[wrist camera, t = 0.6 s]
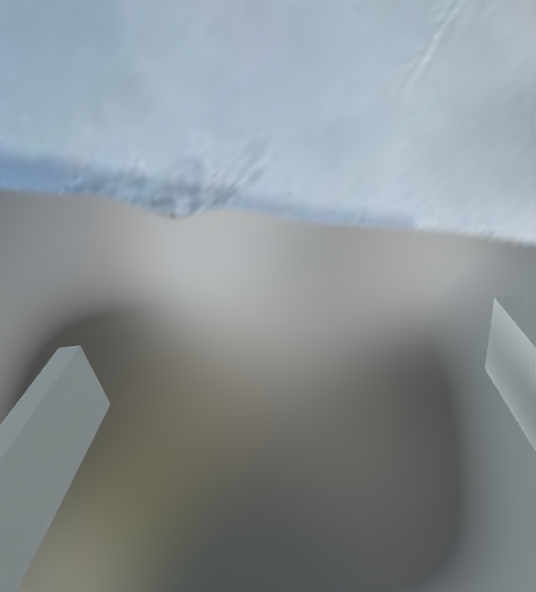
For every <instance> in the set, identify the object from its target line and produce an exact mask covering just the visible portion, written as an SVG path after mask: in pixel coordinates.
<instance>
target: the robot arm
mask: <svg viewBox="0 0 536 592" xmlns="http://www.w3.org/2000/svg"><path fill="white" fill-rule="evenodd" d="M485 369H486V371H487V373H488V374H489V376H490V378H491V379H492V381H493V382H494V384H495V386H496V387H497V389H498V391H499V392H500V394H501V396H502V397H503V399H504V400H505V402H506V404H507V405H508V407H509V409H510V410H511V412H512V414H513V415H514V417H515V418H516V420H517V422H518V423H519V425H520V427H521V428H522V430H523V432H524V433H525V435H526V436H527V438H528V440H529V441H530V443H531V445H532V446H533V448H534V450H535V451H536V309H535V308H534V306H533V305H532V304H531V303H530V302H529V301H528V300H527V299H526V298H525V297H524V296H523V295H514V296H505V297H496V298H494V306H493V313H492V320H491V327H490V335H489V342H488V350H487V357H486V364H485ZM109 405H110V403H109V401H108V399H107V397H106V395H105V393H104V391H103V389H102V387H101V385H100V384H99V382H98V379H97V378H96V376H95V374H94V372H93V370H92V368H91V366H90V364H89V362H88V360H87V358H86V356H85V354H84V352H83V350H82V349H81V347H80V346H73V347H64V348H59V349H58V350H57V351H56V353H55V354H54V355H53V356H52V358H51V359H50V360H49V362H48V363H47V364H46V366H45V367H44V368H43V370H42V371H41V372H40V374H39V375H38V376H37V378H36V379H35V380H34V381H33V383H32V384H31V385H30V387H29V388H28V389H27V391H26V392H25V393H24V395H23V396H22V397H21V398H20V400H19V401H18V403H17V404H16V405H15V406H14V408H13V409H12V410H11V412H10V413H9V414H8V416H7V417H6V418H5V420H4V421H3V422H2V423H1V425H0V592H17V590H18V588H19V586H20V584H21V582H22V580H23V578H24V576H25V574H26V572H27V570H28V568H29V566H30V564H31V562H32V560H33V558H34V556H35V554H36V552H37V550H38V548H39V546H40V544H41V542H42V540H43V538H44V536H45V534H46V532H47V530H48V528H49V526H50V524H51V522H52V520H53V518H54V516H55V514H56V512H57V510H58V508H59V506H60V504H61V502H62V500H63V498H64V496H65V494H66V492H67V490H68V488H69V486H70V484H71V482H72V480H73V478H74V476H75V474H76V472H77V470H78V468H79V466H80V464H81V462H82V460H83V458H84V456H85V454H86V452H87V450H88V448H89V446H90V444H91V442H92V440H93V438H94V436H95V434H96V432H97V430H98V428H99V426H100V424H101V422H102V420H103V418H104V416H105V414H106V412H107V410H108V408H109Z"/></svg>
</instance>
